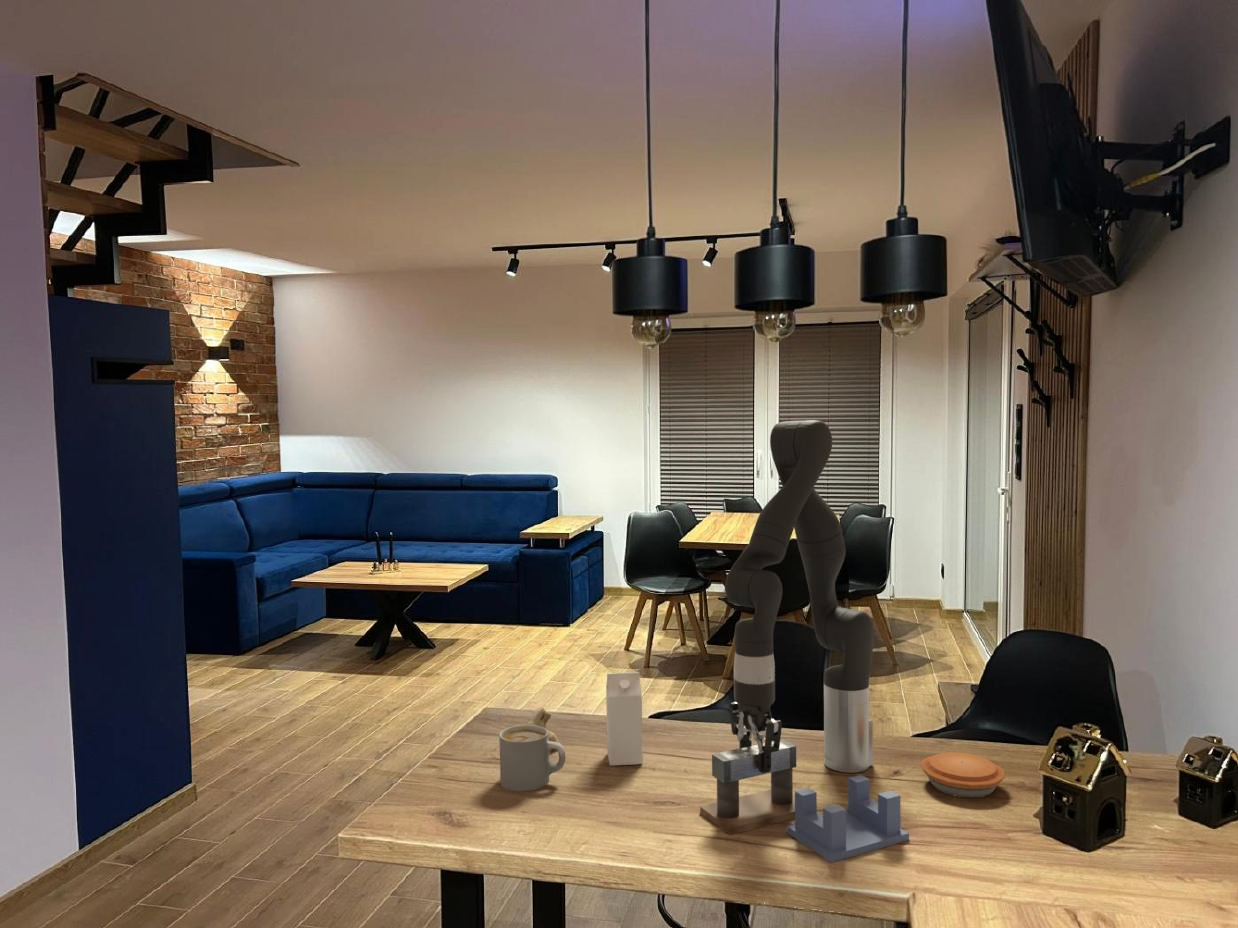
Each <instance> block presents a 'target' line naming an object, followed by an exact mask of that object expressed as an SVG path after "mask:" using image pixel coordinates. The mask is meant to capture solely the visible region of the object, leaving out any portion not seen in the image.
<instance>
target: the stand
mask: <svg viewBox="0 0 1238 928" xmlns="http://www.w3.org/2000/svg"><path fill="white" fill-rule="evenodd" d="M793 774H794V773H793V768H790V769H785V770H781V771H777V772H772V773H770V789H767V790H762V791H758V792H754V793H750V794H747V795H746V794H745V795H741V796H740V780H737V781H733V782H728V783H722V782H721V781H719V780H718V779H717V778H716V802H712V803H709V804H704V805H700V807H699V813H700V814H702V816H704V817H705V818H707V820H710V822H712V823H713V824H715V825H716V826H717V827H718V826H719V829H721V830H722V831H723V832H725V833H726V834H728V835H729V836H731V835H734V834H739V833H741V832H742V833H743V832H746V831H750V830H753V829H757V828H761V827H765V826H768V825H772V824H776V823H781V822H784V821H785V822H786V821H788V820H793V819H795V795H793V793H794V792H793V791H794V790H793V789H794V788H793V787H794V784H793V783H794V782H793V780H794V779H793Z"/></svg>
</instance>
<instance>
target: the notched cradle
mask: <svg viewBox="0 0 1238 928" xmlns="http://www.w3.org/2000/svg"><path fill="white" fill-rule="evenodd" d="M847 779H848V780H847V781H848V782H847V783H848V788H847V789H848V790H847V791H848V797H847V798H848V799H847V800H848V802H847V803H848V809H846V808H844V807H843V806H841V805H839V804H833V805H830V806H826V807H822V814H821V813H819V812H818V811H817V807H818V806H817V804H818V801H817V794H818V793H817V792H816V791H814V790H813V789H811V788H810V787H806V788H801V789H797V790H795V791H794V797H795V818H794V823H793V824H788V825H786V833H787V834H789V836H791V837H793V838H794V839H795V840H797V841H799V842H801V844H803V845H805V846H806V847H808V848H809V849H810V850H811V851H813V852H814V853H816V854H817V855H819V856H821V857H822V858H824V859H825V860H826V861H828V862H829V863H835V862H838V861H841V860H846V859H849V858H852V857H856V856H859V855H862V854H865V853H869V852H873V851H876V850H879V849H880V850H881V849H883V848H886V847H890V846H892V845H896V844H900V843H904V842H906V841H910V833H909V832H908V831H906V830H905V829H903V828H901V823H902V822H901V813H902V812H901V795H900V794H899V793H897V792H895V791H893V790H888V791H884V792H880V793H878V794H877V801H876V800H874V799H872V798H870V795H871V794H870V793H871V791H870V789H871V788H870V787H871V786H870V785H871V783H870V782H871V781H870V778H868V777H866V776H864V775H862V774H860V775H856V776H851V777H848V778H847Z"/></svg>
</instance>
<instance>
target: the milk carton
mask: <svg viewBox="0 0 1238 928" xmlns="http://www.w3.org/2000/svg"><path fill="white" fill-rule="evenodd" d="M605 686H606V687H605V689H606V691H605V692H606V698H605V700H606V701H605V703H606V742H607V743H606V749H607V751H606V752H607V757H608V763H609V766H628V765H630V766H631V765H643V763H644V761H643V760H644V757H643V755H644V752H643V751H644V750H643V749H644V747H643V700H642V699H643V696H642V694H643V693H642V683H641V673H640V672H639V671H637V672H636V671H633V672H615V673H614V672H613V673H606V685H605Z"/></svg>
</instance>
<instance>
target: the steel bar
mask: <svg viewBox="0 0 1238 928" xmlns="http://www.w3.org/2000/svg"><path fill="white" fill-rule="evenodd" d="M772 744H774V741H772ZM763 746H765V742H763ZM790 768H792V769H793V768H797V746H796V745H795V744H794V743H792V742H789V741H787V739H782V738H781V739H780V747H779V751H776V752H772V753H771V770H770V772H766V773H761V772H759V749H758V745H757V744H755V745H754V744H753V745H752V746H749V747H744V748H740V747H739V748H735V749H731V750H725V751H721V752H716V753H712V754H711V775H712V777H714V778H715V779H716V780H717V779H718V780H719V781H721V782H722V783H728V782H733V781H737V780H739V781H740V780H741V781H742V780H744V779H750V778H754V777H759V776H762V775H767V774H771V773H772V772H777V771H781V770H785V769H790Z"/></svg>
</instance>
